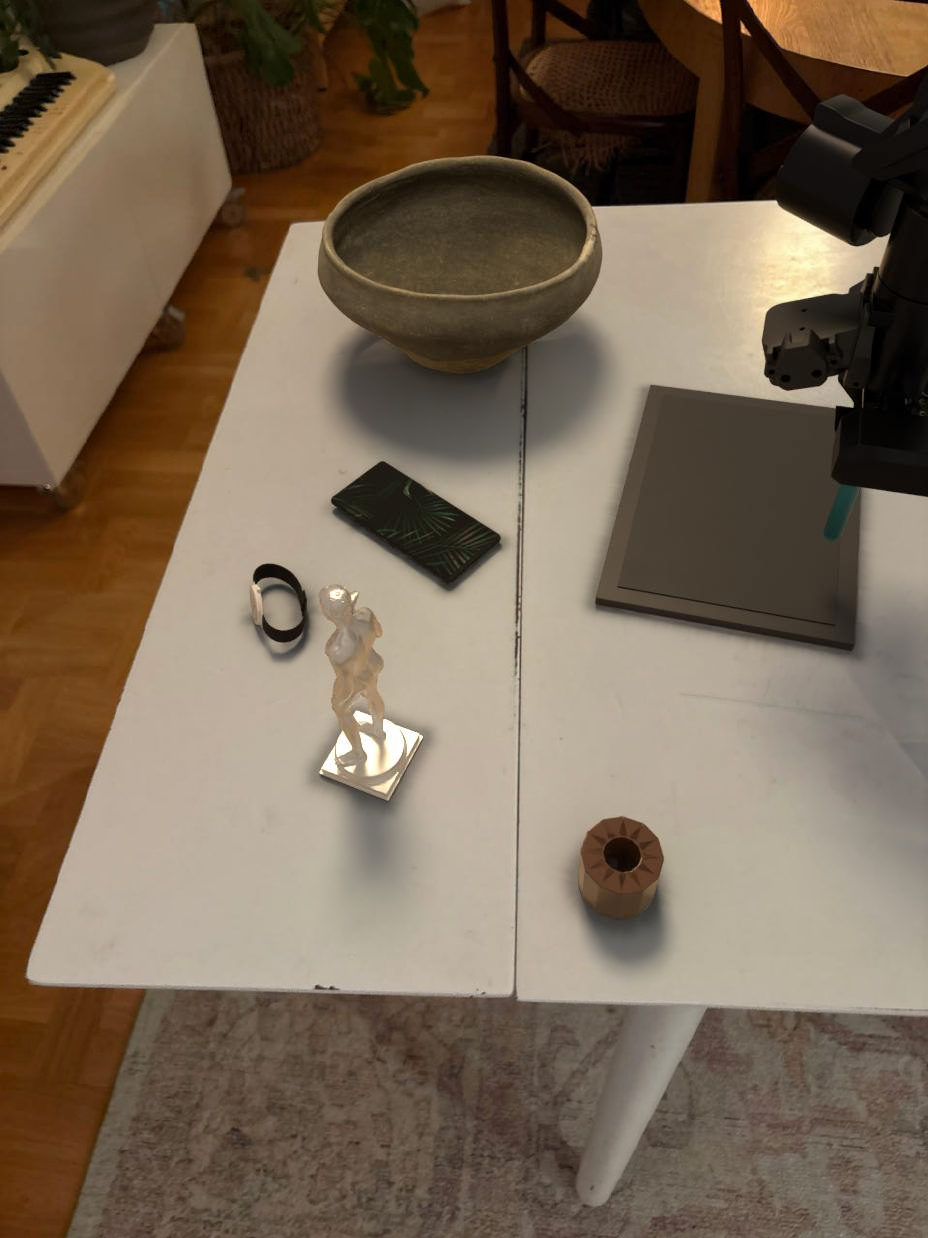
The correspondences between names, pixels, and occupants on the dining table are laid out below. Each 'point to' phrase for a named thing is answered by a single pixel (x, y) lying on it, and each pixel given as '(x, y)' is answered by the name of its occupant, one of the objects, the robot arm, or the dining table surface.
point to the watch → (257, 606)
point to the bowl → (461, 258)
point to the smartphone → (416, 521)
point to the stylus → (840, 512)
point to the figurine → (367, 743)
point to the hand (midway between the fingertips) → (855, 476)
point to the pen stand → (619, 867)
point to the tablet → (734, 520)
